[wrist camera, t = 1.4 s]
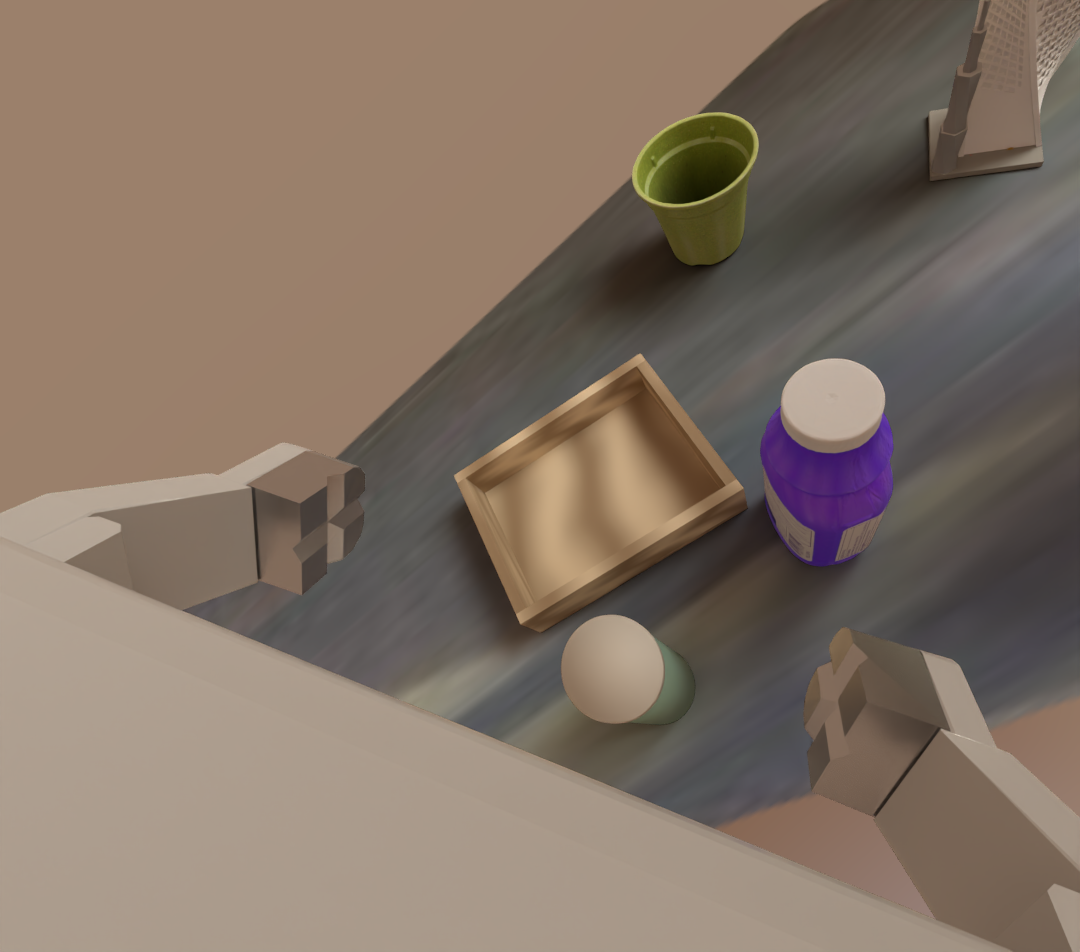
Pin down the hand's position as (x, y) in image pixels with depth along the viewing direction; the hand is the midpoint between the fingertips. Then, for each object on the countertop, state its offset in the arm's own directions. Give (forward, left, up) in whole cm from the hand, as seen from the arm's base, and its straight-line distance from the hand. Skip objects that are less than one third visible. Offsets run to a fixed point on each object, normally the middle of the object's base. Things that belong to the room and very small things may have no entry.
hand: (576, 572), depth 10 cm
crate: (+1, -17, -33) cm, 37 cm away
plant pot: (-19, -33, -33) cm, 50 cm away
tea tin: (+4, -3, -33) cm, 33 cm away
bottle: (-11, -7, -33) cm, 36 cm away
